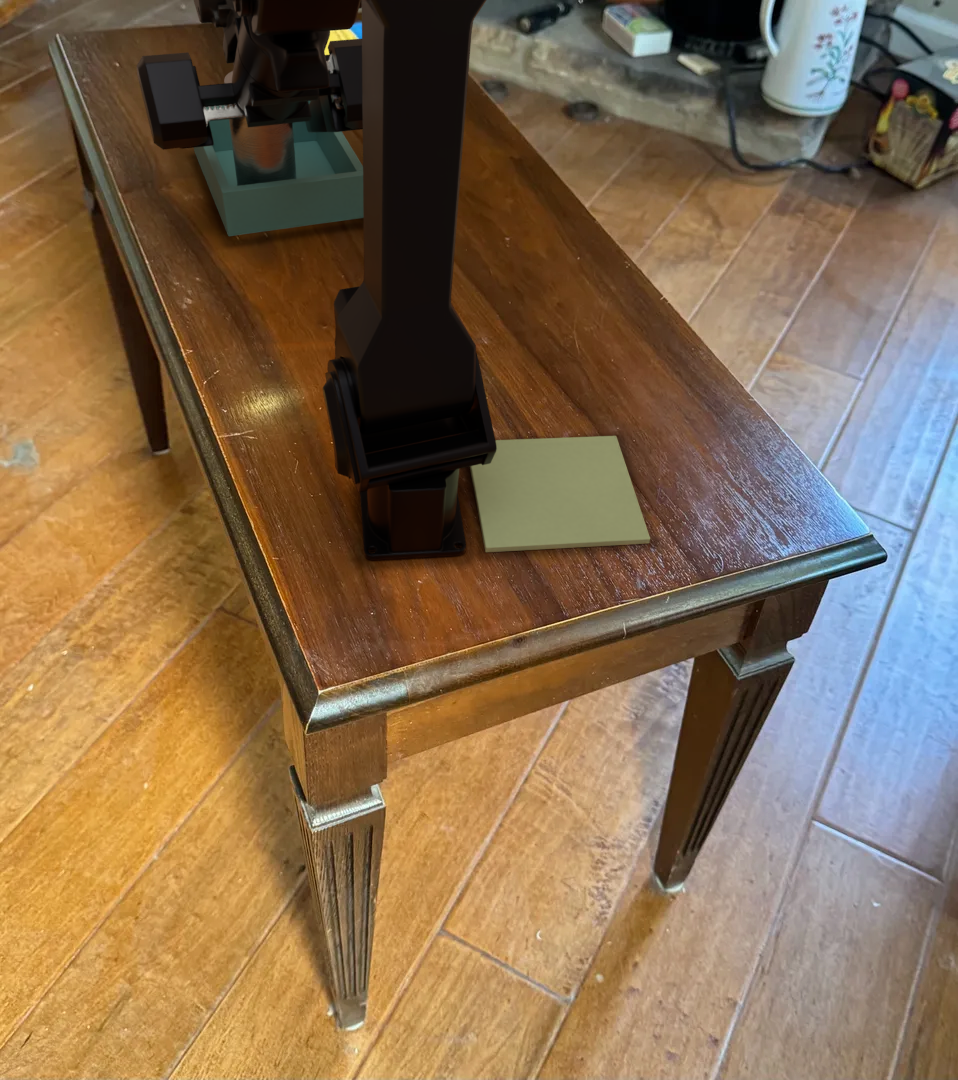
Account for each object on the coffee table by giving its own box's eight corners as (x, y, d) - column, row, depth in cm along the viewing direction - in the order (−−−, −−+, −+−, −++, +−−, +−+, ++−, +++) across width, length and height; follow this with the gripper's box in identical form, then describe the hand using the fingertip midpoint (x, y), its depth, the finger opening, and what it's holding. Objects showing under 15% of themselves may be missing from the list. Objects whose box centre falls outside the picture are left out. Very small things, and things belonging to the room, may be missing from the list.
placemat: (649, 543, 62) (650, 538, 62) (485, 552, 61) (485, 547, 61) (615, 440, 69) (616, 435, 69) (465, 446, 67) (466, 440, 67)
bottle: (298, 220, 84) (288, 82, 75) (238, 220, 83) (221, 80, 74) (298, 189, 87) (288, 54, 78) (240, 189, 86) (223, 53, 77)
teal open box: (368, 224, 86) (368, 174, 82) (229, 244, 82) (222, 192, 78) (322, 143, 95) (319, 95, 91) (195, 157, 91) (187, 108, 88)
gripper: (381, -75, 68) (342, 26, 83) (112, -63, 63) (123, 43, 78) (414, 83, 70) (370, 155, 84) (154, 108, 64) (156, 180, 79)
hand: (259, 131), depth 81 cm, fingers open, 8 cm apart
